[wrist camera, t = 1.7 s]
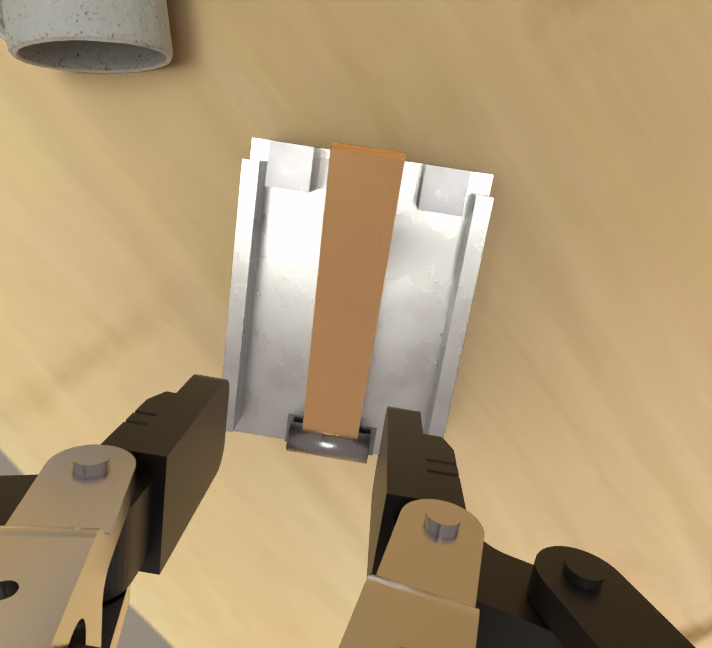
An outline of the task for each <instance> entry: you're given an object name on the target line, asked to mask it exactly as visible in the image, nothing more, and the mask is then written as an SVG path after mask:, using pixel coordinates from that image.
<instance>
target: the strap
mask: <svg viewBox="0 0 712 648" xmlns="http://www.w3.org/2000/svg"><path fill="white" fill-rule="evenodd" d="M405 156H406V153H402V152H396V151H389V150H383V149H376V148H370V147H363V146H357V145H350V144H344V143H337V142H333V144H332V146H331V148H330V155H329V165H328V175H327V185H326V195H325V205H324V215H323V225H322V235H321V246H320V256H319V266H318V276H317V286H316V296H315V306H314V316H313V326H312V336H311V347H310V357H309V367H308V377H307V387H306V397H305V407H304V417H303V423H300V422H294V421H292V422H291V424H290V428H289V432H288V437H287V445H286V450H287V451H292V452H298V453H305V454H311V455H317V456H323V457H329V458H335V459H341V460H347V461H353V462H359V463H365V464H366V463H367V458H368V452H369V446H370V438H371V434H367V433H361V432H359V426H360V420H361V414H362V409H363V403H364V397H365V391H366V385H367V379H368V374H369V368H370V362H371V356H372V350H373V344H374V338H375V333H376V327H377V321H378V315H379V309H380V303H381V298H382V292H383V286H384V280H385V274H386V268H387V263H388V257H389V251H390V245H391V239H392V233H393V228H394V222H395V216H396V210H397V204H398V198H399V193H400V187H401V181H402V175H403V169H404V163H405Z"/></svg>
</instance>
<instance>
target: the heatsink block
mask: <svg viewBox="0 0 712 648" xmlns="http://www.w3.org/2000/svg"><path fill="white" fill-rule="evenodd" d="M329 155H330V150H329V149H323V148H316V147H310V146H304V145H297V144H291V143H284V142H278V141H271V140H264V139H258V138H252V145H251V156H250V159H242V167H241V178H240V189H239V200H238V211H237V222H236V233H235V245H234V256H233V267H232V278H231V289H230V300H229V311H228V323H227V334H226V345H225V356H224V367H223V378H222V379H227V380H228V381H229V401H228V411H227V422H226V431H230V432H233V431H238V432H244V433H250V434H256V435H262V436H268V437H274V438H280V439H285V441H287V437H288V432H289V428H290V424H291V422H292V421H294V422H300V423H303V417H304V407H305V397H306V387H307V377H308V367H309V357H310V347H311V336H312V326H313V316H314V306H315V296H316V286H317V276H318V266H319V256H320V246H321V235H322V225H323V215H324V205H325V195H326V185H327V175H328V165H329ZM492 180H493V175H491V174H484V173H478V172H472V171H466V170H459V169H453V168H446V167H440V166H433V165H427V164H420V163H413V162H407V161H405V163H404V169H403V175H402V181H401V187H400V193H399V198H398V204H397V210H396V216H395V222H394V228H393V233H392V239H391V245H390V251H389V257H388V263H387V268H386V274H385V280H384V286H383V292H382V298H381V303H380V309H379V315H378V321H377V327H376V333H375V338H374V344H373V350H372V356H371V362H370V368H369V374H368V379H367V385H366V391H365V397H364V403H363V409H362V414H361V420H360V426H359V432H361V433H367V434H371V438H370V446H369V452H368V455H372V454H379V448H380V443H381V437H382V432H383V426H384V420H385V415H386V410H387V407H388V406H392V407H398V408H404V409H410V410H416V411H420V412H421V420H422V429H423V434H428V435H434V436H440V437H442V438H444V433H445V428H446V423H447V419H448V414H449V409H450V404H451V400H452V395H453V390H454V385H455V381H456V376H457V371H458V366H459V362H460V357H461V352H462V347H463V343H464V338H465V333H466V328H467V324H468V319H469V314H470V309H471V305H472V300H473V295H474V290H475V286H476V281H477V276H478V271H479V267H480V262H481V257H482V252H483V248H484V243H485V238H486V233H487V229H488V224H489V219H490V214H491V210H492V205H493V200H494V198H493V197H491V196H489V194H490V190H491V185H492Z"/></svg>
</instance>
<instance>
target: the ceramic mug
mask: <svg viewBox="0 0 712 648" xmlns="http://www.w3.org/2000/svg"><path fill="white" fill-rule="evenodd" d="M0 37H1V38H3V39H4V40H5V41H6V42H7V46H8V51H9V52H10V53H11V55H12V56H13V57H15V58H16V59H18V60H20V61H22V62H24V63H27V64H31V65H35V66H40V67H46V68H51V69H57V70H66V71H73V72H88V73H128V72H139V71H141V72H143V71H146V70H153V69H156V68H160V67H163V66H165V65H168V64H169V63H170V62H171V60H172V58H173V48H172V40H171V33H170V26H169V18H168V10H167V3H166V0H0Z"/></svg>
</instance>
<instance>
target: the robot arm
mask: <svg viewBox="0 0 712 648" xmlns="http://www.w3.org/2000/svg"><path fill="white" fill-rule="evenodd" d="M228 401H229V381H228V380H227V379H221V378H215V377H209V376H202V375H196V374H195V375H193V376H192V377H191V378H190V379H189V380H188V381H187V382H186V383H185V385H184V386H183V387H182V388H181V389H180V390H179V391H178V392H177V393H172V392H164V393H161V394H159V395H156V396H154V397H152V398H149V399H147V400H146V401H145V402H144V403H143V404H142V405H141V406H140V407H139V408H138V409H137V410H136V411H135V413H132V414H131V415H130V416H129V417H128V418H127V419H126V422H123V423H122V424H121V425H120V426H119V427H118V428H117V429H116V430H115V431H114V432H113V433H112V434H111V435H110V436H109V437H108V438H107V439H106V440H105V441H104V442H103V443H102V444H101V445H84V446H78V447H74V448H70V449H67V450H64V451H62V452H60V453H58V454H56V455H54V456H53V457H52V458H50V459H49V460H48V461H47V463H46V464H45V465H44V467H43V468H42V470H41V471H40V473H39V474H38V475H16V476H15V475H14V476H13V475H12V476H0V648H116V647H117V643H118V640H119V636H120V633H121V629H122V625H123V622H124V618H125V615H126V611H127V608H128V604H129V599H130V584H131V582H132V581H133V579H134V578H135V576H136V574H137V573H138V571H141V572H147V573H153V574H159V575H160V573H161V571H162V569H163V568H164V566H165V564H166V562H167V561H168V559H169V557H170V555H171V553H172V552H173V550H174V548H175V546H176V545H177V543H178V541H179V539H180V537H181V536H182V534H183V532H184V530H185V529H186V527H187V525H188V523H189V521H190V520H191V518H192V516H193V514H194V513H195V511H196V509H197V507H198V506H199V504H200V502H201V500H202V498H203V497H204V495H205V493H206V491H207V490H208V488H209V486H210V484H211V482H212V481H213V479H214V477H215V475H216V474H217V472H218V469H219V466H220V463H221V460H222V455H223V450H224V443H225V433H226V422H227V411H228ZM458 476H459V474H458V469H457V466H456V459H455V454H454V450H453V449H452V448H451V447H450V446H449V444H448V443H447V442H446V441H445V440H444V439H443V438H442V437H440V436H434V435H428V434H423V429H422V420H421V412H420V411H416V410H410V409H404V408H398V407H392V406H388V407H387V410H386V415H385V420H384V426H383V432H382V437H381V443H380V448H379V454H378V460H377V465H376V471H375V477H374V484H373V492H372V504H371V520H370V536H369V552H368V568H367V580H366V582H365V584H364V587H363V589H362V592H361V594H360V597H359V599H358V601H357V604H356V606H355V609H354V611H353V614H352V616H351V619H350V621H349V624H348V626H347V628H346V631H345V633H344V636H343V638H342V641H341V643H340V646H339V648H695V647H694V646H693V645H692V644H691V643H690V642H689V641H688V640H687V639H686V638H685V637H684V636H683V635H682V634H681V633H680V632H679V631H678V630H677V629H676V628H675V627H674V626H673V625H672V624H671V623H670V622H669V621H668V620H667V619H666V618H665V617H664V616H663V615H662V614H661V613H660V612H659V611H658V610H657V609H656V608H655V607H654V606H653V605H652V604H651V603H650V602H649V601H648V600H647V599H646V598H645V597H644V596H643V595H642V594H641V593H639V592H638V591H637V590H636V589H635V588H634V587H633V586H632V585H631V584H630V583H629V582H628V581H627V580H626V579H625V578H624V577H623V576H622V575H621V574H620V573H619V572H618V571H617V570H616V569H615V568H614V567H612V566H611V565H610V564H608V563H607V562H605V561H604V560H602V559H600V558H599V557H597V556H595V555H593V554H590V553H588V552H585V551H583V550H579V549H576V548H571V547H565V546H553V547H548V548H545V549H543V550H541V551H540V552H539V553H538V554H537V556H536V559H535V562H534V565H532V564H530V563H527V562H525V561H522V560H519V559H517V558H514V557H511V556H509V555H507V554H504V553H502V552H500V551H498V550H496V549H494V548H493V547H491V546H490V545H488V544H487V543H485V542H484V530H483V527H482V525H481V523H480V522H479V521H478V520H477V518H476V517H474V516H473V515H472V514H471V513H470V512H468V511H467V510H466V507H465V502H464V498H463V493H462V488H461V483H460V478H459V477H458Z"/></svg>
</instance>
